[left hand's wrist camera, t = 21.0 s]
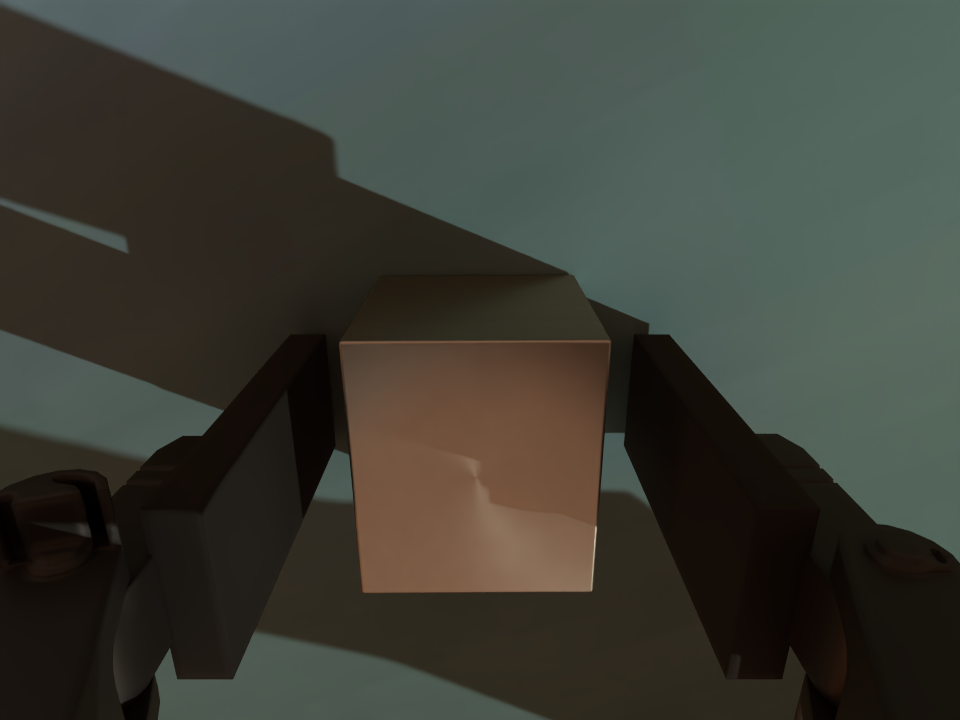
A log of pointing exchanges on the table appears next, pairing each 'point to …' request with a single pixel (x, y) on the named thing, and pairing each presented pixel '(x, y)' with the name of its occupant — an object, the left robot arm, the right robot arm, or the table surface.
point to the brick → (476, 433)
